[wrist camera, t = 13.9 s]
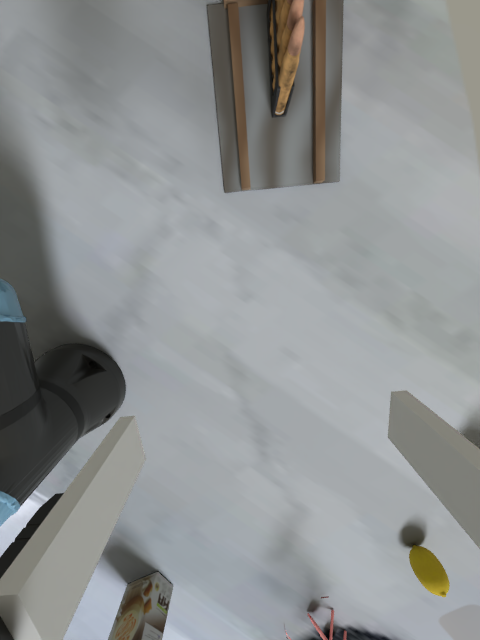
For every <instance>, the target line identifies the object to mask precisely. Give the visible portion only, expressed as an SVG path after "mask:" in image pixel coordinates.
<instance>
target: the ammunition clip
mask: <svg viewBox="0 0 480 640" xmlns="http://www.w3.org/2000/svg"><path fill="white" fill-rule="evenodd" d="M303 7H304V0H268V5H267V33H268V53H269V72H270V92H271V112H272V118H275V117H284V116H286V114H287V111H288V107H289V104H290V101H291V97H292V94H293V90H294V87H295V83H294V78H295V75H296V71H297V68H298V64H299V55H300V51H301V46H302V42H303V37H304V29H305V22H304V17H303V16H302V14H303Z"/></svg>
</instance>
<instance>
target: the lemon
mask: <svg viewBox="0 0 480 640" xmlns="http://www.w3.org/2000/svg"><path fill="white" fill-rule="evenodd" d="M409 559H410V564H411V567H412V569H413V571H414V573H415V575H416V576H417V578H418V579H419V581H420V582H421V583H422V585H423V586H424V587H425V588H426V589H427V590H428V591H430V592H431V593H433V594H435V595H438V596H442V597H446V594H447V592H448V590H449V580H448V577H447V574H446V572H445V570H444V568H443V566H442V564H441V563H440V561H439V560H438V559H437V558H436V556H435V555H434V554H433V553H432V552H431V551H429V550H428V549H426V548H424V547H421V546H416V545H413V547H412V549H411V551H410V554H409Z"/></svg>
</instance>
